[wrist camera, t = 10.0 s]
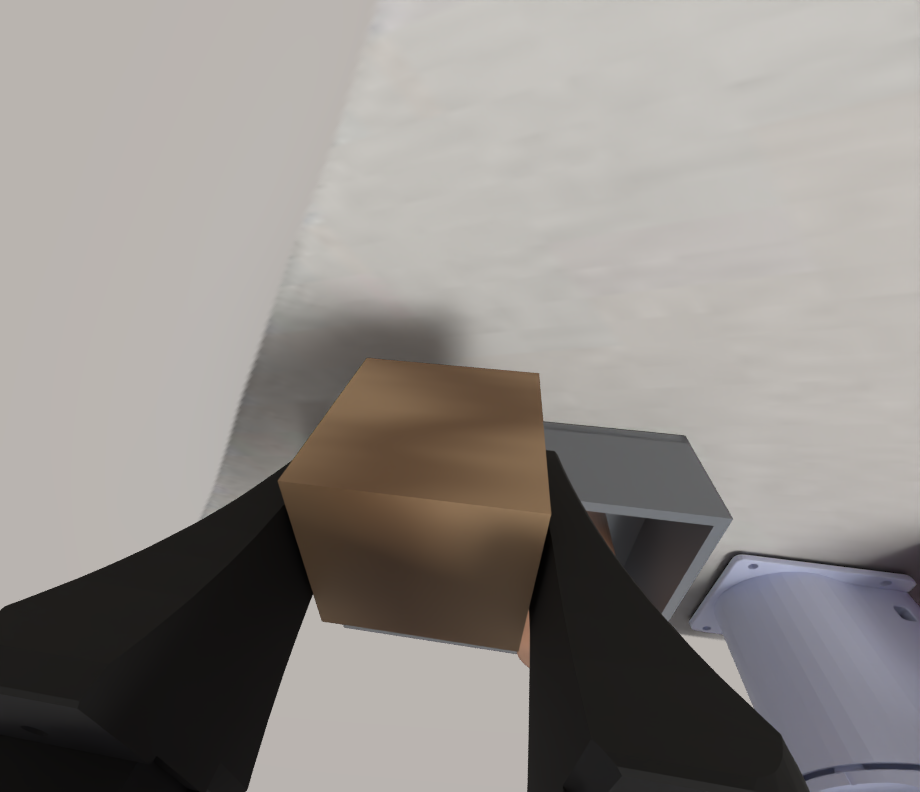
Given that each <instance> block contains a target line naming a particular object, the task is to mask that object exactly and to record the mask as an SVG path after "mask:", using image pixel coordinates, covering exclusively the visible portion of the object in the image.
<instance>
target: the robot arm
mask: <svg viewBox="0 0 920 792" xmlns="http://www.w3.org/2000/svg"><path fill="white" fill-rule="evenodd" d="M546 460H547V471H548V483H549V495H550V506H551V517H550V521H549V526H548V530H547V534H546V538H545V542H544V547H543V551H542V555H541V559H540V563H539V568H538V572H537V576H536V580H535V584H534V589H533V593H532V597H531V601H530V605H529V625H530V682H529V683H530V684H529V687H530V688H529V745H528V747H529V748H528V749H529V750H528V787H527V789H528V790H527V792H920V607H919V605H918V604H917V603H916V602H915V601H914V600H913V598H912V597H911V596H910V595H909V594H908V592H909V591H910V590H911V589H913V588H914V587H915V586H916V582H915V581H914V579H913V578H912V577H911V576H909V575H905V574H897V573H889V572H881V571H873V570H865V569H857V568H849V567H841V566H833V565H825V564H817V563H808V562H800V561H792V560H784V559H776V558H768V557H760V556H752V555H744V554H740V555H736V556H734V557H733V558H732V559H731V561H730V562H729V564H728V565H727V567H726V568H725V570H724V571H723V573H722V574H721V575H720V577H719V578H718V580H717V581H716V583H715V584H714V586H713V587H712V589H711V590H710V592H709V593H708V594H707V596H706V597H705V599H704V600H703V602H702V603H701V605H700V606H699V608H698V609H697V610H696V612H695V613H694V615H693V616H692V618H691V619H690V621H689V624H690V627H691V628H692V629H693V630H696V631H703V632H710V633H717V634H723V636H724V638H725V640H726V643H727V645H728V648H729V650H730V652H731V655H732V657H733V659H734V662H735V664H736V667H737V669H738V671H739V674H740V676H741V679H742V681H743V683H744V686H745V688H746V691H747V693H748V695H749V698H750V700H751V702H752V705H753V707H754V708H752V707H751V706H750V705H749V704H748V703H747V702H746V701H745V700H744V699H743V698H742V697H741V696H740V695H739V694H738V693H736V692H735V691H734V690H733V689H732V688H731V687H730V686H729V685H728V684H727V683H726V682H725V681H724V680H723V679H722V678H721V677H720V676H719V675H718V674H717V673H716V672H715V671H714V670H713V669H712V668H711V667H710V666H709V665H708V664H707V663H706V662H705V661H704V660H703V659H702V658H701V657H700V656H699V655H698V654H697V653H696V652H695V651H694V650H693V649H692V648H691V647H690V645H689V644H688V643H687V642H686V641H685V640H684V639H683V637H682V636H681V635H680V634H679V633H678V632H677V631H676V630H675V629H674V627H673V626H672V625H671V624H670V623H669V622H668V621H667V620H666V618H665V617H664V616H663V615H662V614H661V613H660V612H659V611H658V609H657V608H656V607H655V606H654V605H653V604H652V603H651V601H650V600H649V599H648V598H647V596H646V595H645V594H644V593H643V592H642V590H641V589H640V588H639V587H638V585H637V584H636V583H635V582H634V580H633V579H632V578H631V576H630V575H629V574H628V572H627V571H626V570H625V568H624V567H623V566H622V565H621V563H620V562H619V560H618V559H617V558H616V556H615V555H614V553H613V552H612V550H611V549H610V548H609V546H608V545H607V543H606V542H605V540H604V539H603V537H602V536H601V534H600V533H599V531H598V529H597V528H596V526H595V525H594V523H593V521H592V520H591V518H590V517H589V515H588V513H587V511H586V510H585V508H584V506H583V504H582V503H581V501H580V499H579V498H578V496H577V494H576V492H575V490H574V488H573V486H572V484H571V482H570V480H569V478H568V476H567V474H566V472H565V470H564V468H563V466H562V464H561V461H560V459H559V456H558V454H557V453H556V452H555V451H551V450H546ZM291 462H292V461H291ZM291 462H289V463H288V464H287V465H285V466H284V467H283V468H281V469H280V470H278V471H277V472H276V473H274V474H273V475H271V476H270V477H268V478H267V479H265V480H264V481H263V482H261V483H260V484H258V485H257V486H255V487H254V488H252V489H251V490H249V491H248V492H246V493H245V494H244V495H242V496H240V497H239V498H237V499H236V500H234V501H232V502H231V503H229V504H228V505H226V506H224V507H223V508H221V509H219V510H217V511H216V512H214V513H212V514H211V515H209V516H207V517H205V518H204V519H202V520H200V521H198V522H197V523H195V524H193V525H191V526H189V527H187V528H185V529H183V530H181V531H179V532H177V533H175V534H173V535H172V536H170V537H168V538H166V539H164V540H162V541H160V542H158V543H156V544H154V545H152V546H150V547H148V548H146V549H144V550H142V551H139V552H137V553H135V554H133V555H131V556H128V557H126V558H124V559H122V560H120V561H117V562H115V563H113V564H111V565H108V566H106V567H104V568H102V569H99V570H97V571H94V572H92V573H90V574H87V575H85V576H83V577H80V578H78V579H75V580H73V581H70V582H67V583H65V584H62V585H60V586H57V587H55V588H52V589H49V590H47V591H44V592H42V593H39V594H37V595H34V596H31V597H29V598H26V599H24V600H21V601H18V602H16V603H13V604H10V605H7V606H5V607H4V608H2V609H1V610H0V792H246V791H247V789H248V786H249V782H250V779H251V775H252V771H253V768H254V765H255V762H256V758H257V755H258V752H259V748H260V745H261V742H262V738H263V736H264V732H265V729H266V725H267V722H268V719H269V716H270V713H271V710H272V707H273V704H274V701H275V698H276V695H277V692H278V689H279V686H280V683H281V680H282V676H283V674H284V671H285V668H286V665H287V662H288V660H289V657H290V654H291V651H292V648H293V646H294V643H295V640H296V637H297V634H298V632H299V629H300V627H301V624H302V621H303V619H304V616H305V613H306V610H307V608H308V605H309V603H310V600H311V598H312V595H313V592H312V588H311V585H310V582H309V579H308V576H307V573H306V569H305V566H304V563H303V560H302V557H301V554H300V550H299V547H298V544H297V541H296V538H295V534H294V531H293V528H292V525H291V522H290V519H289V515H288V512H287V509H286V506H285V503H284V500H283V496H282V493H281V490H280V487H279V484H278V480H279V478H280V477H281V475H282V474H283V473H284V471H285V470H286V469H287V467H288V466H289V464H290V463H291Z"/></svg>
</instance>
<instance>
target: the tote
mask: <svg viewBox="0 0 920 792" xmlns="http://www.w3.org/2000/svg"><path fill="white" fill-rule="evenodd" d="M543 425H544V437H545V448H546V450H551V451H555V452H556V453H557V454H558V456H559V459H560V461H561V464H562V466H563V468H564V470H565V472H566V474H567V476H568V478H569V480H570V482H571V484H572V486H573V488H574V490H575V492H576V494H577V496H578V498H579V499H580V501H581V503H582V504H583V506H584V508H585V510H586V511H592V512H601V513H606V516H607V521H608V525H609V529H610V533H611V538H612V542H613V546H614V550H615V554H616V558H617V559H618V560H619V562H620V563H621V565H622V566H623V567H624V568H625V570H626V571H627V572H628V574H629V575H630V576H631V578H632V579H633V580H634V582H635V583H636V584H637V585H638V587H639V588H640V589H641V590H642V592H643V593H644V594H645V595H646V596H647V598H648V599H649V600H650V601H651V603H652V604H653V605H654V606H655V607H656V608H657V609H658V611H659V612H660V613H661V614H662V615H663V616H664V617H665V618H666V620H667V621H668V622H669V620H670V618H671V617H672V615H673V614H674V612H675V610H676V609H677V607H678V606H679V604H680V603H681V601H682V599H683V598H684V596H685V595H686V593H687V591H688V590H689V588H690V587H691V585H692V583H693V582H694V580H695V579H696V577H697V576H698V574H699V572H700V571H701V569H702V568H703V566H704V564H705V563H706V561H707V560H708V558H709V556H710V555H711V553H712V552H713V550H714V549H715V547H716V545H717V544H718V542H719V541H720V539H721V537H722V536H723V534H724V533H725V531H726V529H727V528H728V526H729V525H730V523H731V522H732V520H733V518H732V516H731V514H730V513H729V511H728V509H727V507H726V506H725V504H724V502H723V500H722V499H721V497H720V495H719V494H718V492H717V490H716V488H715V487H714V485H713V483H712V481H711V480H710V478H709V476H708V474H707V473H706V471H705V469H704V467H703V466H702V464H701V462H700V460H699V459H698V457H697V455H696V454H695V452H694V450H693V448H692V447H691V445H690V443H689V441H688V440H687V438H686V436H681V435H671V434H661V433H651V432H641V431H631V430H621V429H611V428H601V427H591V426H580V425H570V424H560V423H550V422H543ZM344 627H345V628H351V629H358V630H364V631H370V632H376V633H383V634H390V635H396V636H402V637H409V638H416V639H423V640H428V641H435V642H441V643H449V644H454V645H461V646H468V647H474V648H480V649H487V650H494V651H500V652H506V653H513V654H517V652H516V651H510V650H503V649H497V648H490V647H484V646H478V645H471V644H465V643H458V642H452V641H445V640H439V639H433V638H426V637H420V636H413V635H407V634H400V633H394V632H387V631H381V630H375V629H368V628H362V627H355V626H349V625H344Z"/></svg>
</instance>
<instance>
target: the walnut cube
mask: <svg viewBox="0 0 920 792" xmlns="http://www.w3.org/2000/svg"><path fill="white" fill-rule="evenodd" d="M278 484H279V487H280V490H281V493H282V496H283V500H284V503H285V506H286V509H287V512H288V515H289V519H290V522H291V525H292V528H293V531H294V534H295V538H296V541H297V544H298V547H299V550H300V554H301V557H302V560H303V563H304V566H305V569H306V573H307V576H308V579H309V582H310V585H311V588H312V592H313V595H314V598H315V601H316V604H317V607H318V610H319V614H320V617H321V620H322V621H323V622H330V623H336V624H342V625H349V626H355V627H362V628H368V629H375V630H381V631H387V632H394V633H400V634H407V635H413V636H420V637H426V638H433V639H439V640H445V641H452V642H458V643H465V644H471V645H478V646H484V647H490V648H497V649H503V650H510V651H516V652H519V647H520V643H521V639H522V635H523V631H524V626H525V622H526V618H527V614H528V610H529V605H530V601H531V597H532V593H533V589H534V584H535V580H536V576H537V572H538V568H539V563H540V559H541V555H542V551H543V547H544V542H545V538H546V534H547V530H548V526H549V521H550V517H551V506H550V495H549V483H548V471H547V460H546V448H545V437H544V425H543V414H542V402H541V391H540V379H539V373H529V372H518V371H507V370H496V369H485V368H474V367H462V366H451V365H440V364H429V363H418V362H407V361H395V360H384V359H373V358H366V360H365V361H364V362H363V364H362V365H361V367H360V368H359V369H358V371H357V372H356V373H355V375H354V376H353V378H352V379H351V380H350V382H349V383H348V384H347V386H346V387H345V389H344V390H343V391H342V393H341V394H340V395H339V397H338V398H337V400H336V401H335V402H334V404H333V405H332V406H331V408H330V409H329V411H328V412H327V413H326V415H325V416H324V418H323V419H322V420H321V422H320V423H319V424H318V426H317V427H316V429H315V430H314V431H313V433H312V434H311V435H310V437H309V438H308V440H307V441H306V442H305V444H304V445H303V446H302V448H301V449H300V451H299V452H298V453H297V455H296V456H295V457H294V459H293V460H292V462H291V463H290V464H289V466H288V467H287V469H286V470H285V471H284V473H283V474H282V475H281V477H280V478H279V480H278Z"/></svg>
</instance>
